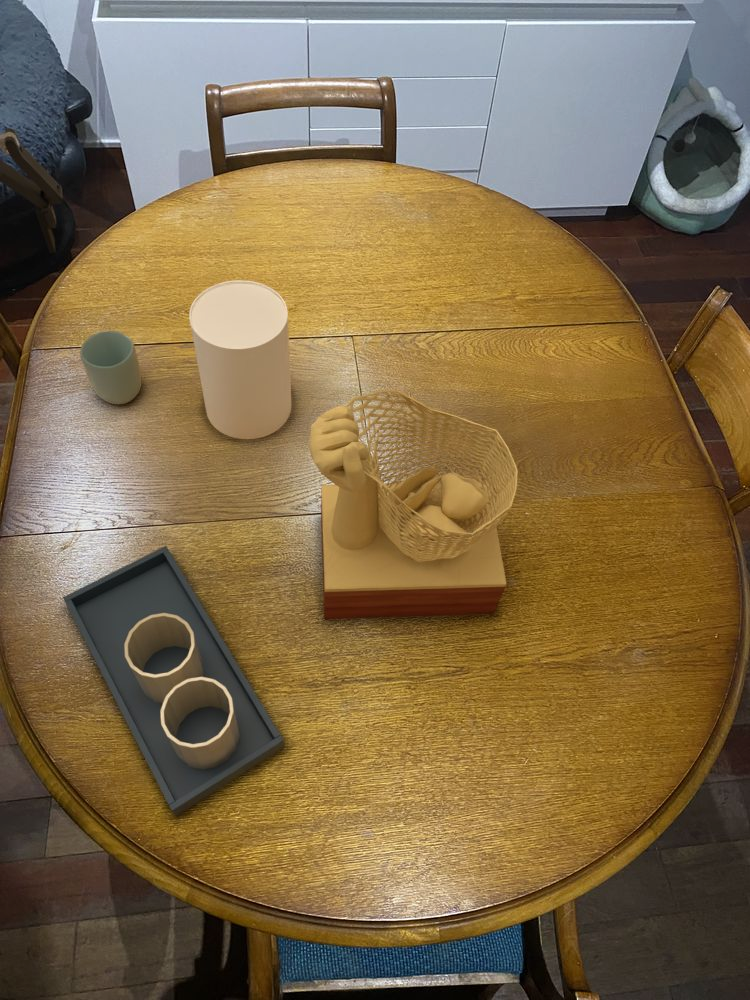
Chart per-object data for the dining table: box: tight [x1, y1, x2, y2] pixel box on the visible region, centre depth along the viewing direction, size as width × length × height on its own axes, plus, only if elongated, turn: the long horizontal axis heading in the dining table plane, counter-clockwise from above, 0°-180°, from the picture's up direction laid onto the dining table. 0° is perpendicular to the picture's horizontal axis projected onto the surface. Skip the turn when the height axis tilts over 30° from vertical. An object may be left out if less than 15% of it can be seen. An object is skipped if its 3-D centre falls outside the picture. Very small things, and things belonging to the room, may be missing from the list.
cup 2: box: [124, 613, 204, 703], centre depth 96 cm, size 8×8×10 cm
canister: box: [188, 279, 292, 440], centre depth 117 cm, size 14×14×20 cm
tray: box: [62, 545, 285, 817], centre depth 99 cm, size 32×15×3 cm, turn 34°
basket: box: [308, 389, 519, 620], centre depth 97 cm, size 25×18×35 cm
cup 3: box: [160, 677, 240, 770], centre depth 92 cm, size 8×8×10 cm
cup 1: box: [79, 329, 143, 405], centre depth 121 cm, size 8×8×10 cm
